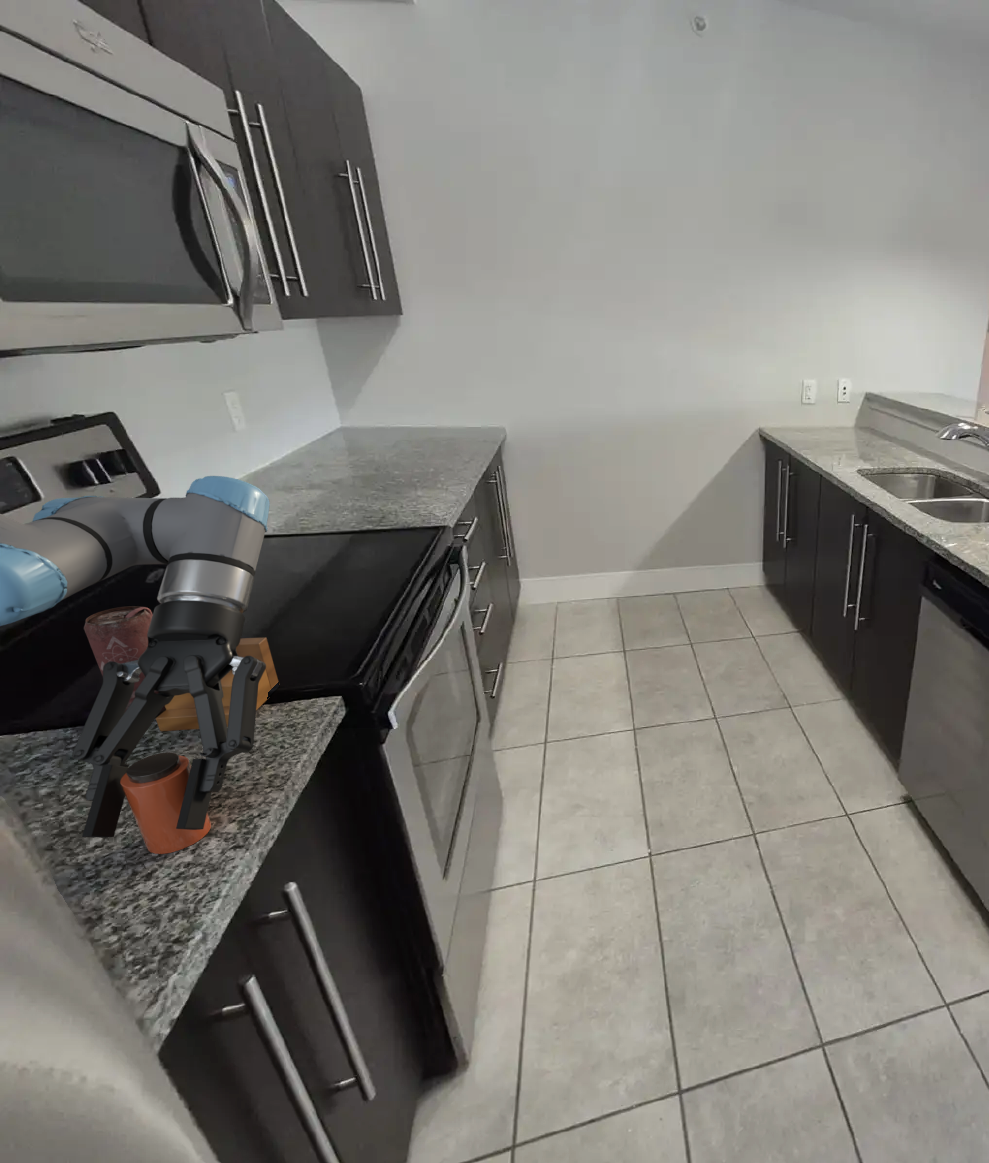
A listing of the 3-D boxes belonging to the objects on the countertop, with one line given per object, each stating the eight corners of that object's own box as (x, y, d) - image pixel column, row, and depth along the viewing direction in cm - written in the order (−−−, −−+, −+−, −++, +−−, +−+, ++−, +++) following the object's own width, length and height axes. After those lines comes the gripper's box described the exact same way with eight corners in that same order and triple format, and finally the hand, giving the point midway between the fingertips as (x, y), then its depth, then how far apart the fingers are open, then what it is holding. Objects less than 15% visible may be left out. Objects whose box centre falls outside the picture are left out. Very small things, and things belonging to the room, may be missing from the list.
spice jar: (134, 856, 63) (103, 783, 60) (168, 820, 68) (141, 750, 64) (192, 851, 64) (165, 778, 61) (222, 816, 69) (198, 746, 65)
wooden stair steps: (160, 731, 81) (140, 677, 78) (208, 690, 90) (192, 640, 88) (240, 726, 83) (224, 673, 80) (280, 686, 92) (266, 637, 89)
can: (193, 700, 88) (162, 608, 83) (137, 725, 82) (100, 628, 77) (164, 691, 90) (131, 600, 84) (107, 714, 84) (69, 618, 79)
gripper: (319, 617, 75) (281, 824, 67) (122, 624, 72) (54, 844, 63) (286, 594, 69) (239, 820, 60) (66, 599, 65) (-19, 842, 56)
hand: (144, 832), depth 61 cm, fingers open, 7 cm apart
